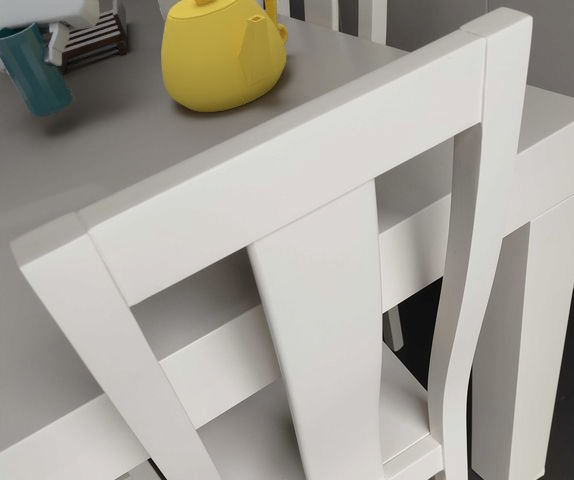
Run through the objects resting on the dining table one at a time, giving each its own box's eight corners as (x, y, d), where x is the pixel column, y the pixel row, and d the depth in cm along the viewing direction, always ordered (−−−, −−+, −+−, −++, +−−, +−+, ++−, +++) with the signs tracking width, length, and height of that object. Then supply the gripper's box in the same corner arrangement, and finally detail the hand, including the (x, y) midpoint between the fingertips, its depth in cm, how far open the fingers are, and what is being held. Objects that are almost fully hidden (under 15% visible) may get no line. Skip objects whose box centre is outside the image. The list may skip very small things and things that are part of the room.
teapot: (152, 100, 83) (113, 2, 74) (258, 44, 88) (234, -54, 79) (227, 137, 70) (190, 24, 61) (345, 69, 75) (328, -44, 66)
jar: (172, 42, 98) (143, -40, 89) (218, 27, 98) (194, -57, 89) (176, 60, 92) (146, -26, 83) (226, 44, 92) (201, -45, 83)
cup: (28, 121, 80) (-15, 45, 73) (32, 103, 84) (-8, 29, 77) (72, 107, 80) (33, 29, 73) (74, 90, 84) (37, 15, 77)
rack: (53, 77, 100) (35, 40, 95) (59, 45, 111) (43, 11, 107) (132, 51, 99) (117, 13, 95) (130, 22, 111) (116, -13, 107)
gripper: (109, -42, 77) (110, 68, 77) (-14, -16, 83) (-12, 85, 84) (77, -72, 71) (78, 47, 71) (-52, -41, 77) (-50, 68, 78)
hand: (28, 68), depth 78 cm, fingers closed on cup, 6 cm apart
